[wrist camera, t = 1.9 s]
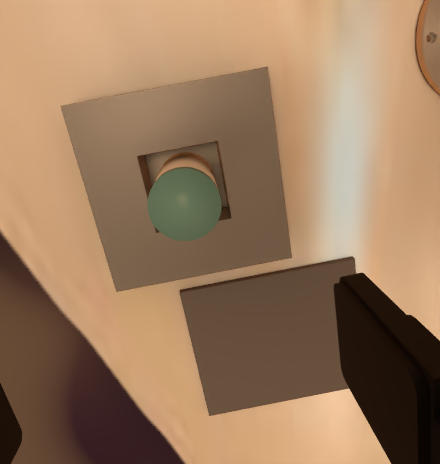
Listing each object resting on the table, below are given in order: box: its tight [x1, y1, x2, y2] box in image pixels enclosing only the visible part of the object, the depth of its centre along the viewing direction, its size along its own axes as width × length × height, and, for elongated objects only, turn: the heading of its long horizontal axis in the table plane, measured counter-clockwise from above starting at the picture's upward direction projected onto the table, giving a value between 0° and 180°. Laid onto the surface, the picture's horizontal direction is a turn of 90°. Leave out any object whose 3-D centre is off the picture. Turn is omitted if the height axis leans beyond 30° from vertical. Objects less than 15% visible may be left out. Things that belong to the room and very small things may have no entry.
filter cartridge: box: [147, 152, 221, 241], centre depth 30 cm, size 5×5×10 cm
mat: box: [180, 257, 356, 416], centre depth 41 cm, size 18×16×1 cm
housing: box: [61, 67, 292, 292], centre depth 33 cm, size 16×16×4 cm
